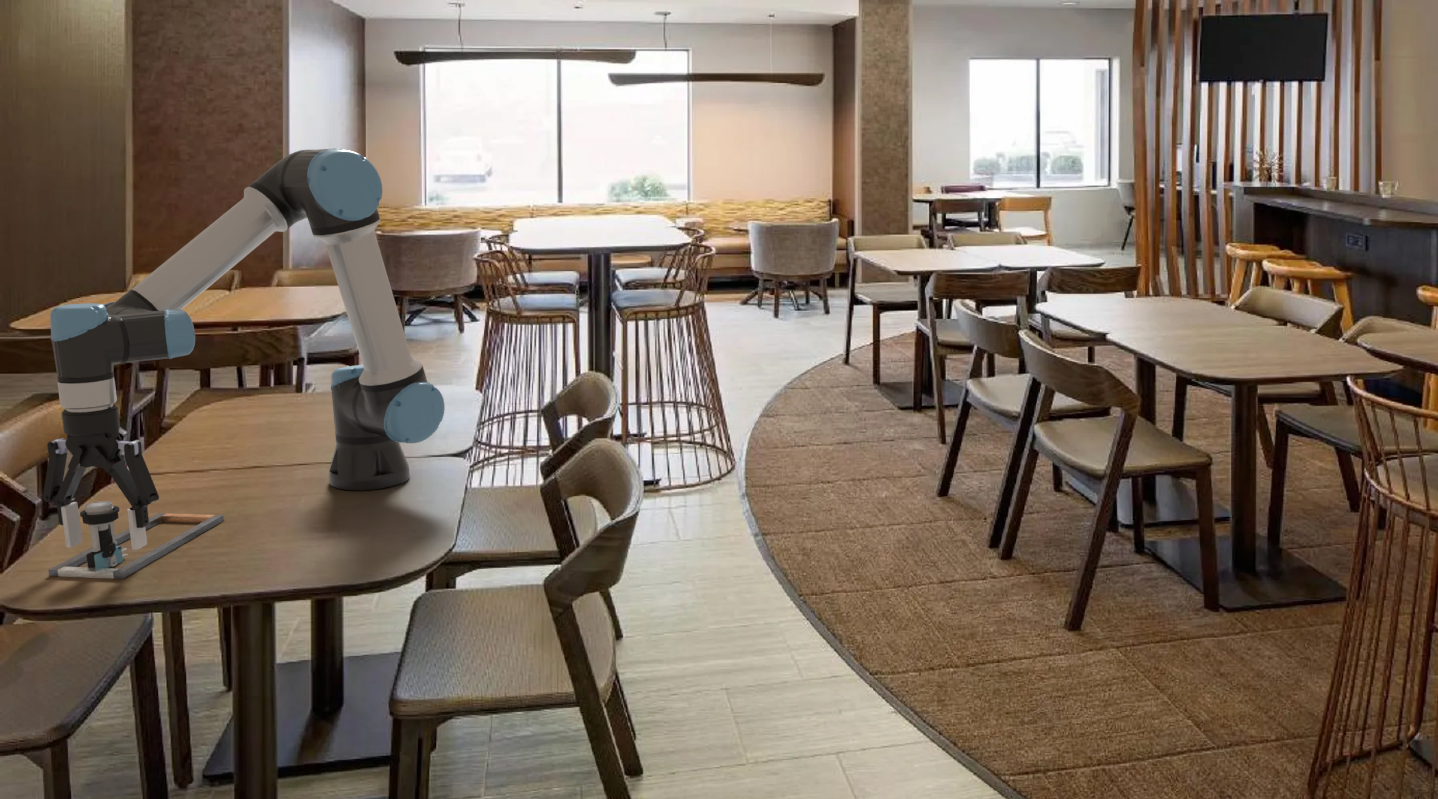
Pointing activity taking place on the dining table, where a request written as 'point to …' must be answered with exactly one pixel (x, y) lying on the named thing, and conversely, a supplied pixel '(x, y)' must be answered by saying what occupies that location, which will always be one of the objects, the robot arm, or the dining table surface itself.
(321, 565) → the dining table surface
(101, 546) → the push button
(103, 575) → the open rectangular frame
